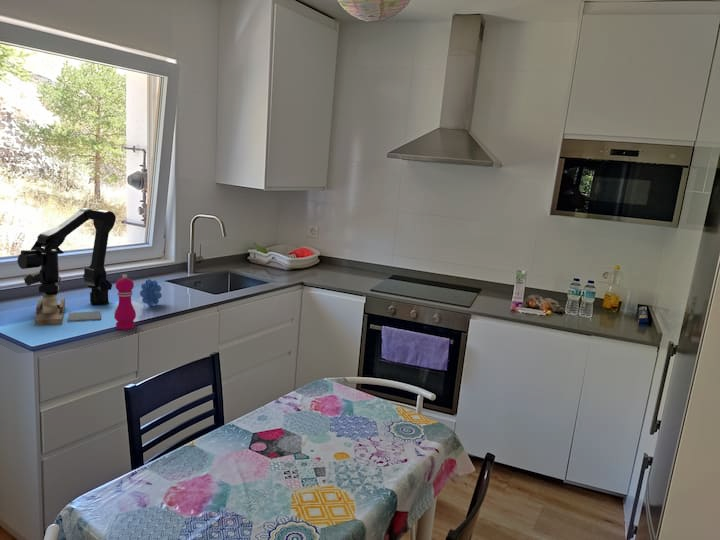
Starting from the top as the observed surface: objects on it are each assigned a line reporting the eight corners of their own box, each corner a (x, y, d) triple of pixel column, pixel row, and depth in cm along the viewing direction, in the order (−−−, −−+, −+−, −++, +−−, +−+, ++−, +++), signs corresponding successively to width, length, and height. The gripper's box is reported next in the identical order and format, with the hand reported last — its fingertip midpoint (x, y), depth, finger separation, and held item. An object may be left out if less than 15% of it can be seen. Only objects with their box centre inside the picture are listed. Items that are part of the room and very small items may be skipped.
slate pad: (100, 312, 206) (100, 311, 206) (100, 319, 196) (100, 318, 196) (68, 314, 201) (68, 312, 201) (67, 321, 191) (67, 320, 191)
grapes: (148, 310, 213) (148, 282, 211) (136, 308, 216) (135, 280, 214) (168, 305, 224) (168, 278, 222) (156, 302, 226) (156, 275, 224)
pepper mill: (118, 323, 193) (118, 271, 190) (138, 324, 194) (138, 272, 190) (111, 329, 186) (110, 275, 183) (132, 330, 187) (131, 276, 183)
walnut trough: (65, 307, 209) (64, 296, 209) (61, 324, 188) (61, 312, 188) (40, 308, 205) (40, 297, 205) (34, 325, 185) (34, 313, 184)
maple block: (57, 309, 199) (57, 294, 198) (57, 312, 195) (56, 297, 194) (44, 310, 197) (43, 294, 196) (43, 313, 193) (42, 297, 192)
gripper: (27, 261, 202) (29, 300, 205) (21, 270, 186) (23, 312, 189) (60, 261, 207) (61, 299, 210) (57, 270, 191) (58, 310, 194)
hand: (51, 305), depth 200 cm, fingers closed
